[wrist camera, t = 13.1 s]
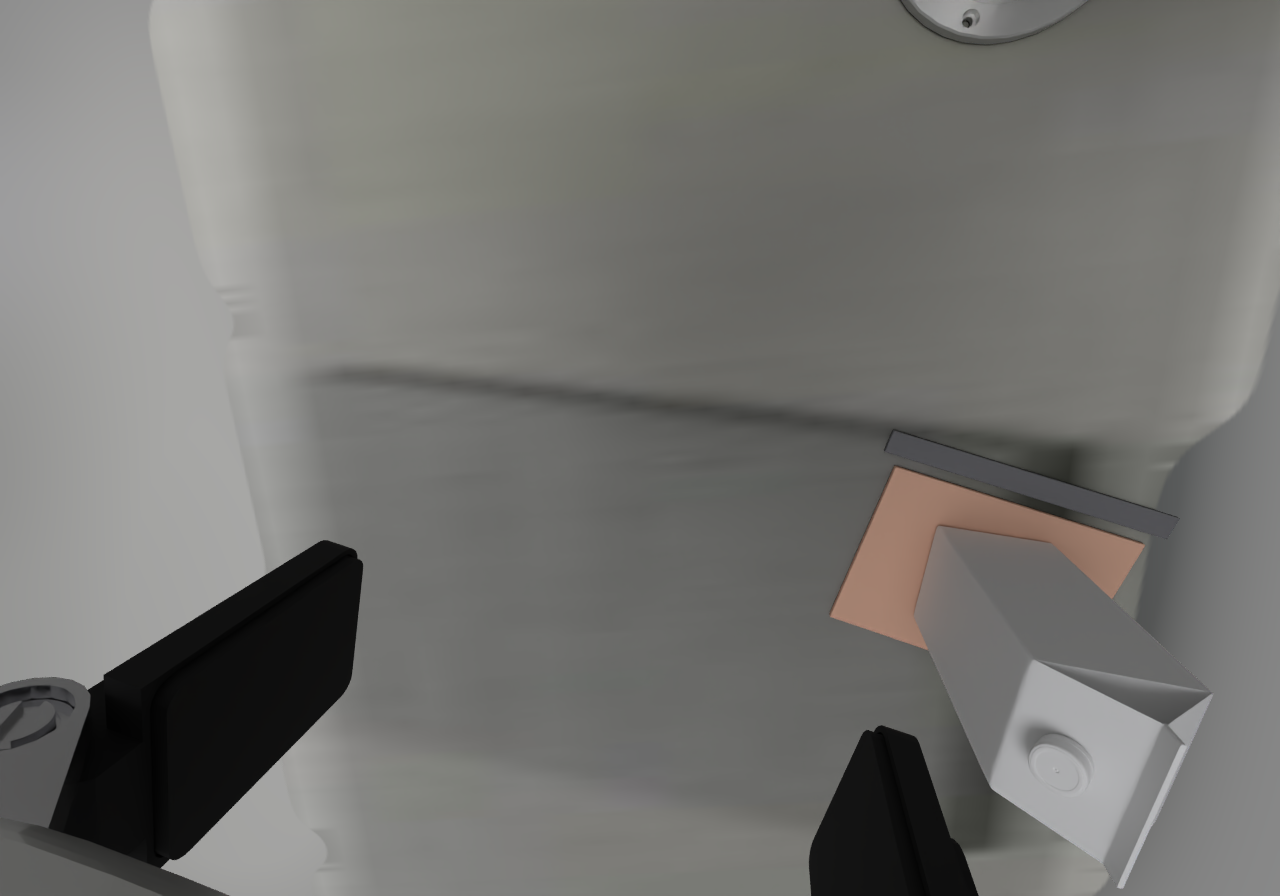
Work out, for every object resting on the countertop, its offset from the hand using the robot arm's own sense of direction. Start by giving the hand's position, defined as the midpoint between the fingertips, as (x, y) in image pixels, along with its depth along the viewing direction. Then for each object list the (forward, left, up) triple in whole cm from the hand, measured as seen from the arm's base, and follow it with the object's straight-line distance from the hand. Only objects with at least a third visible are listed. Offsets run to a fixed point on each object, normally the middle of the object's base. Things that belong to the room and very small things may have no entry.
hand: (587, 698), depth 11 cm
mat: (+8, +21, -32) cm, 39 cm away
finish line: (0, +21, -32) cm, 38 cm away
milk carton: (+7, +21, -32) cm, 39 cm away
